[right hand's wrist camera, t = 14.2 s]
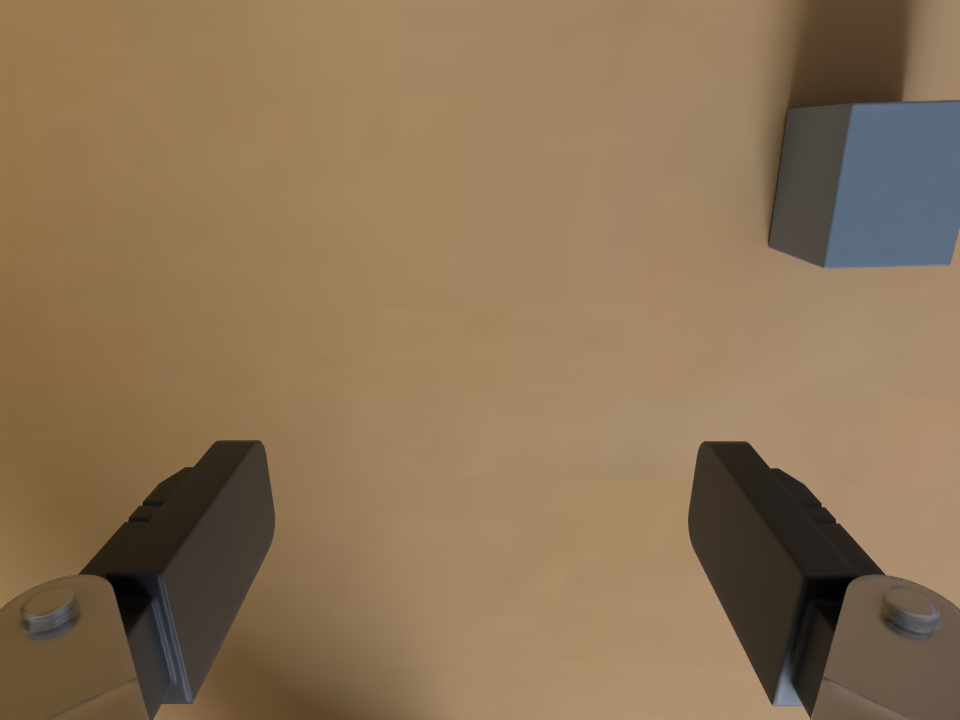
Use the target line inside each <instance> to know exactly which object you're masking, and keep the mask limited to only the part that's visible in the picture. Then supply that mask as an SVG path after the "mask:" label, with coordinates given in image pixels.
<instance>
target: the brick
mask: <svg viewBox="0 0 960 720" xmlns="http://www.w3.org/2000/svg"><path fill="white" fill-rule="evenodd" d="M959 228H960V100H943V101H907V102H871V103H848V104H836V105H824V106H813V107H801V108H790V109H788V113H787V120H786V127H785V134H784V141H783V148H782V155H781V162H780V170H779V177H778V184H777V191H776V198H775V205H774V212H773V219H772V227H771V234H770V241H769V248H772V249H774V250H777V251H780V252H782V253H785V254H787V255H790V256H793V257H795V258H798V259H800V260H803V261H806V262H808V263H811V264H813V265H816V266H819V267H821V268H824V269H835V268H873V267H911V266H947V265H950V264H951V260H952V256H953V252H954V248H955V244H956V240H957V236H958V232H959Z"/></svg>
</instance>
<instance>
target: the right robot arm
mask: <svg viewBox="0 0 960 720" xmlns="http://www.w3.org/2000/svg"><path fill="white" fill-rule="evenodd" d="M688 526H689V534H690V539H691V543H692V546H693V549H694V551H695V553H696V555H697V557H698V559H699V561H700V563H701V565H702V567H703V569H704V571H705V573H706V575H707V577H708V579H709V581H710V583H711V585H712V587H713V589H714V591H715V593H716V595H717V597H718V599H719V601H720V602H721V604H722V606H723V608H724V610H725V612H726V614H727V616H728V618H729V620H730V622H731V624H732V626H733V628H734V630H735V632H736V634H737V636H738V638H739V640H740V642H741V644H742V646H743V648H744V650H745V652H746V654H747V656H748V658H749V660H750V662H751V664H752V666H753V668H754V670H755V672H756V674H757V676H758V678H759V680H760V682H761V684H762V686H763V688H764V690H765V692H766V694H767V696H768V698H769V700H770V702H771V704H772V706H804V708H805V710H806V711H807V713H808V715H809V717H810V720H960V609H959V608H958V607H956V606H955V605H954V604H953V603H952V602H950V601H949V600H947V599H946V598H944V597H943V596H941V595H939V594H938V593H936V592H934V591H932V590H930V589H928V588H926V587H924V586H922V585H919V584H917V583H914V582H912V581H909V580H905V579H902V578H898V577H893V576H887V575H885V574H884V573H883V571H882V570H881V569H880V568H879V567H878V566H877V565H876V564H875V563H874V561H873V560H872V559H871V558H870V557H869V556H868V555H867V554H866V553H865V551H864V550H863V549H862V548H861V547H860V546H859V545H858V544H857V543H856V541H855V540H854V539H853V538H852V537H851V536H850V535H849V534H848V533H847V531H846V530H845V529H844V528H843V527H842V526H841V525H840V524H836V519H835V518H834V517H833V516H832V515H831V514H830V513H829V511H828V510H827V509H826V508H825V507H822V506H821V503H820V501H819V500H818V499H817V498H816V497H815V496H814V495H813V494H812V492H811V491H810V490H809V489H808V488H807V487H806V486H805V485H804V484H803V483H801V482H799V481H798V480H796V479H794V478H793V477H791V476H790V475H788V474H786V473H785V472H783V471H782V470H780V469H770V468H769V466H768V465H767V464H766V463H765V462H764V460H763V459H762V458H761V457H760V456H759V455H758V453H757V452H756V451H755V450H754V449H753V447H752V446H751V445H750V444H749V443H747V442H744V441H705V442H703V443H702V444H701V445H700V447H699V450H698V454H697V460H696V467H695V474H694V480H693V487H692V494H691V500H690V507H689V515H688ZM274 527H275V512H274V505H273V498H272V491H271V485H270V478H269V471H268V464H267V458H266V452H265V448H264V445H263V444H262V442H261V441H258V440H219V441H216V442H215V443H214V444H213V445H212V446H211V447H210V448H209V450H208V451H207V452H206V453H205V454H204V456H203V457H202V458H201V459H200V460H199V462H198V463H197V464H196V465H195V466H194V467H185V468H184V469H182V470H180V471H179V472H177V473H176V474H174V475H172V476H171V477H169V478H168V479H166V480H164V481H163V482H161V483H159V485H158V486H157V487H156V488H155V489H154V490H153V491H152V492H151V494H150V495H149V496H148V497H147V498H146V499H145V500H144V501H143V505H142V506H139V507H138V508H137V509H136V510H135V512H134V513H133V514H132V515H131V516H130V517H129V521H128V522H125V523H124V524H123V525H122V526H121V527H120V528H119V530H118V531H117V532H116V533H115V534H114V535H113V536H112V537H111V538H110V540H109V541H108V542H107V543H106V544H105V545H104V546H103V547H102V549H101V550H100V551H99V552H98V553H97V554H96V555H95V556H94V558H93V559H92V560H91V561H90V562H89V563H88V564H87V565H86V567H85V568H84V569H83V570H82V571H81V572H80V573H79V574H78V575H73V576H67V577H62V578H58V579H55V580H51V581H48V582H46V583H43V584H41V585H38V586H36V587H34V588H32V589H30V590H28V591H26V592H24V593H22V594H21V595H19V596H17V597H16V598H14V599H13V600H11V601H10V602H8V603H7V604H6V605H5V606H4V607H2V608H1V609H0V720H153V718H154V716H155V715H156V713H157V711H158V709H159V707H160V706H161V704H192V703H193V701H194V699H195V697H196V695H197V693H198V691H199V689H200V687H201V685H202V683H203V681H204V679H205V677H206V675H207V673H208V671H209V669H210V667H211V665H212V663H213V661H214V659H215V657H216V655H217V653H218V651H219V649H220V647H221V645H222V643H223V641H224V639H225V637H226V635H227V633H228V631H229V629H230V627H231V624H232V622H233V620H234V618H235V616H236V614H237V612H238V610H239V608H240V606H241V604H242V602H243V600H244V598H245V596H246V594H247V592H248V590H249V588H250V586H251V584H252V582H253V580H254V578H255V576H256V574H257V572H258V570H259V568H260V566H261V564H262V562H263V560H264V558H265V556H266V554H267V552H268V550H269V548H270V545H271V542H272V539H273V534H274Z"/></svg>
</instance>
